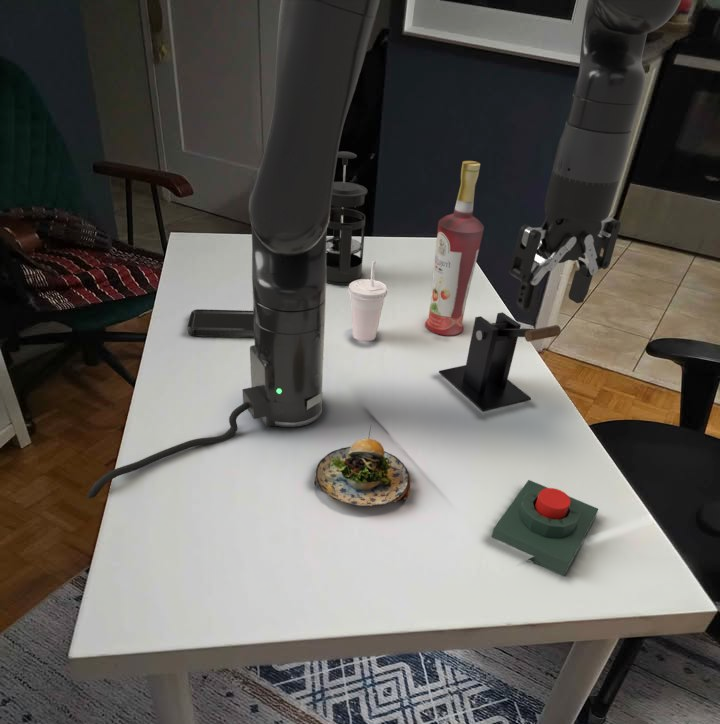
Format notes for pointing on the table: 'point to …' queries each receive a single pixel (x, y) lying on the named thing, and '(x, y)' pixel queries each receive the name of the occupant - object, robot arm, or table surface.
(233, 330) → the phone
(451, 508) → the table surface
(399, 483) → the burger
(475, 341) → the black stand
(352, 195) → the french press
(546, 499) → the power button
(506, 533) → the green piece
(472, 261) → the liquor
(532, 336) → the toast lever
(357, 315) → the smoothie
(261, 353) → the robot arm
